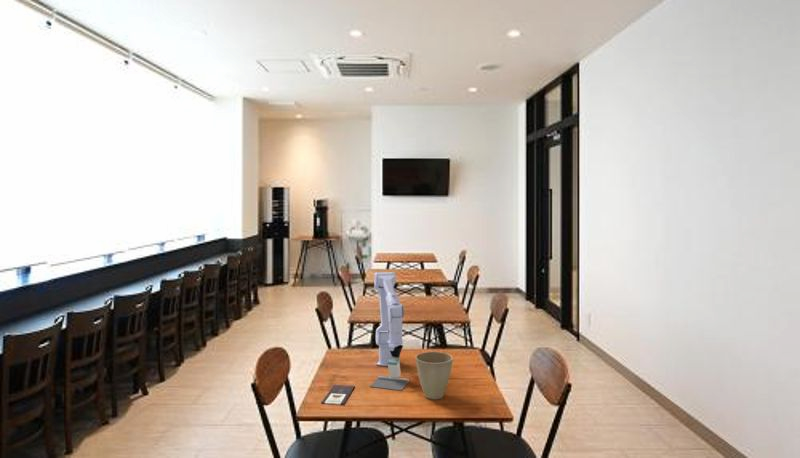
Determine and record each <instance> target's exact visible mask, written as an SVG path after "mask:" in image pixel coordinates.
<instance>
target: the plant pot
mask: <svg viewBox="0 0 800 458" xmlns="http://www.w3.org/2000/svg"><path fill="white" fill-rule="evenodd" d="M453 359H454V358H453V356H452V355H451V354H449V353H446V352H441V351H425V352H420V353H418V354H416V355H415V363H416V369H417V375H418V379H419V383H420V386H421V389H422V393H423V395H424V397H425V398H426V399H429V400H439V399H442V398H444V395H445V393H446V390H447V387H448V383H449V379H450V376H451V372H452V366H453V361H454V360H453Z"/></svg>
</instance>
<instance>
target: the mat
mask: <svg viewBox="0 0 800 458" xmlns="http://www.w3.org/2000/svg"><path fill="white" fill-rule="evenodd" d="M408 383H409V382H400V381H392V380H383V379H376V380H374V381H373V383H371V385H370V386H369V388H376V389H385V390H393V391H401V392H402V391H403V390H404V389H405V387H406V386H407V385H408Z"/></svg>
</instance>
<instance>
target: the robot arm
mask: <svg viewBox="0 0 800 458" xmlns="http://www.w3.org/2000/svg"><path fill="white" fill-rule="evenodd" d="M396 281H397V276H396V273H395V272H394V271H391V272H389V271H385V272H375V273H374V274H373V284H374V285H373V286H374V291H378V299H379V312H380V325H379V326H378V327H377V328H376V329H375V342H376V345H377V346H378V362H377V363H376V364H375V365H376V366H383V367H388V363H387V362H388V360H389V358H390V357H399V358H400V356H401V352H402V350H403V348H404V345H403V318H404V315H405V309H404V305H403V304H402V303H401V302H400V300H399V296H398V294H397V293H396V292H395V289H394V287H395V284H396V283H397V282H396Z"/></svg>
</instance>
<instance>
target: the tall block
mask: <svg viewBox="0 0 800 458" xmlns="http://www.w3.org/2000/svg"><path fill="white" fill-rule="evenodd" d="M387 363H388V366H387V368H388V369H387V370H388V377H396V378H401V376H402V371H401V364H400V357H390V358H389V360H388V362H387Z"/></svg>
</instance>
